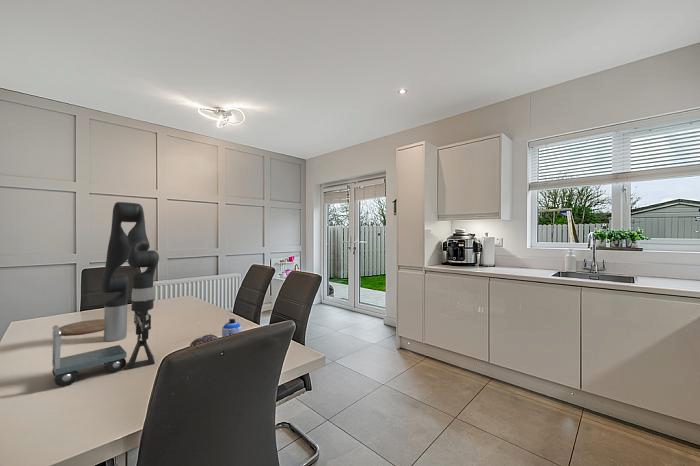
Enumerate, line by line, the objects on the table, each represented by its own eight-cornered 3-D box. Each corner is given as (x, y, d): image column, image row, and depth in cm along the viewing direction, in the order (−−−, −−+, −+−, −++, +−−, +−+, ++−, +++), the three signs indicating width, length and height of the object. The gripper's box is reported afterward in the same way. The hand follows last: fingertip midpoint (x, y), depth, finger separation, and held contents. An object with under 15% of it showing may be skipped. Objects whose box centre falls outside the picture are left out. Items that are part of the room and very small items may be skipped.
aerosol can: (216, 370, 116) (217, 320, 116) (231, 362, 124) (231, 315, 124) (231, 373, 113) (232, 322, 114) (245, 365, 121) (246, 317, 121)
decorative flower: (172, 345, 117) (203, 324, 130) (173, 366, 121) (203, 344, 134) (199, 360, 112) (228, 337, 126) (200, 382, 117) (228, 357, 130)
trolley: (51, 378, 108) (52, 325, 108) (119, 361, 123) (120, 314, 124) (54, 390, 100) (55, 333, 100) (126, 370, 115) (127, 320, 116)
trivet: (122, 327, 169) (122, 323, 169) (64, 339, 148) (64, 336, 148) (106, 319, 183) (106, 316, 183) (50, 330, 162) (50, 327, 162)
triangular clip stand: (127, 369, 116) (128, 339, 116) (127, 364, 121) (128, 335, 121) (154, 364, 121) (155, 335, 121) (153, 359, 126) (154, 331, 126)
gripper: (127, 296, 123) (126, 335, 123) (136, 302, 113) (135, 344, 113) (148, 294, 128) (147, 330, 128) (158, 299, 119) (157, 339, 119)
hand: (141, 336), depth 121 cm, fingers open, 8 cm apart
